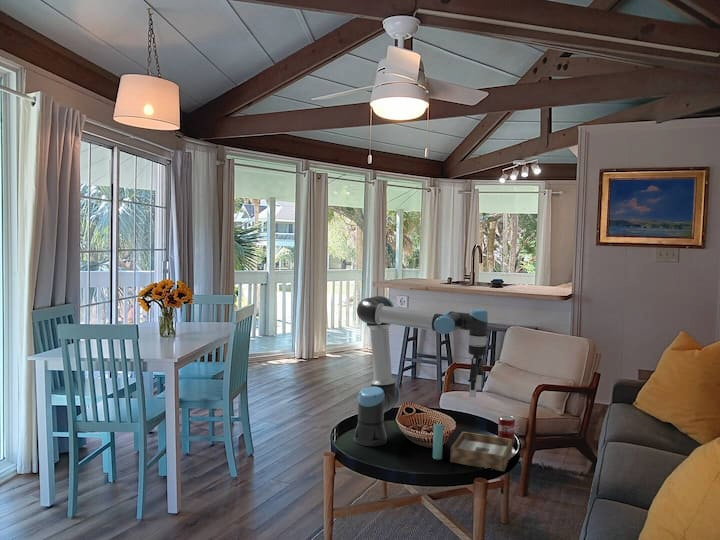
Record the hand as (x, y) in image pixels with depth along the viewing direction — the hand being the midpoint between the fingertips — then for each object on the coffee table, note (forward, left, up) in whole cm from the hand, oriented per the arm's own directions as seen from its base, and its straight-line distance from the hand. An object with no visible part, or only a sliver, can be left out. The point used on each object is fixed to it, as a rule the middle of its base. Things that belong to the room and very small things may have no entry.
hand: (475, 393), depth 243 cm
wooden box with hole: (+5, -6, -26) cm, 27 cm away
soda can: (+12, +15, -26) cm, 32 cm away
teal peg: (-12, -15, -26) cm, 32 cm away
